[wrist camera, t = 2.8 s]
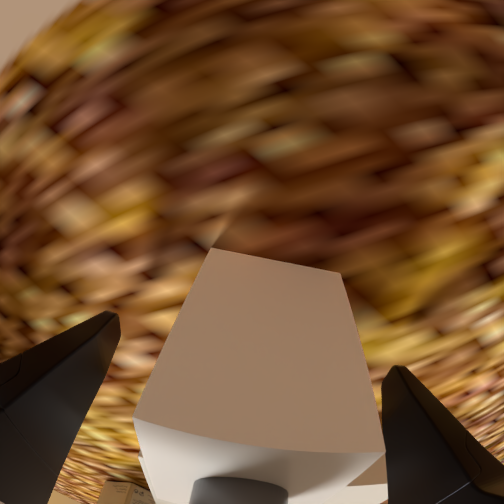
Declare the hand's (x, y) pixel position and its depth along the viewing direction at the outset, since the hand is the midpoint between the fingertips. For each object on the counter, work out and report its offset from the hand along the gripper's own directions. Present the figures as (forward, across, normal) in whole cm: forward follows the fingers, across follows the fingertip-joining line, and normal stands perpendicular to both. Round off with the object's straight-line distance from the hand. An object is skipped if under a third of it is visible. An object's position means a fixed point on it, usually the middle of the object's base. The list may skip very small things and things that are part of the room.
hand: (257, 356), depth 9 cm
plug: (+2, 0, 0) cm, 2 cm away
